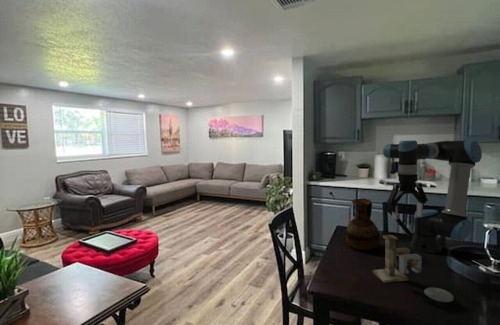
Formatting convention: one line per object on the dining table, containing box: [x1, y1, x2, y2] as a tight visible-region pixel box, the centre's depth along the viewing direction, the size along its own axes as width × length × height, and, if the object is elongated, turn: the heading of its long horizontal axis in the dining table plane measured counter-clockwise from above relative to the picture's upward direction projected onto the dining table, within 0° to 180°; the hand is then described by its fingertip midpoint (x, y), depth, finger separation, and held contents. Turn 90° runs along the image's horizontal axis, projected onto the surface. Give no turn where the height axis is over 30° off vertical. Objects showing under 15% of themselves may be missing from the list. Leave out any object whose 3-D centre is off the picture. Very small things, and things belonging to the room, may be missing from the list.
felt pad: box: [424, 287, 454, 303], centre depth 114 cm, size 10×10×1 cm
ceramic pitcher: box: [345, 198, 381, 251], centre depth 167 cm, size 20×20×30 cm
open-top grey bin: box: [398, 253, 423, 275], centre depth 116 cm, size 8×3×7 cm, turn 96°
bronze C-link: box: [389, 247, 411, 267], centre depth 123 cm, size 8×3×7 cm, turn 96°
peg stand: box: [372, 234, 418, 284], centre depth 124 cm, size 12×22×20 cm, turn 6°
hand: (407, 217), depth 129 cm, fingers open, 13 cm apart
